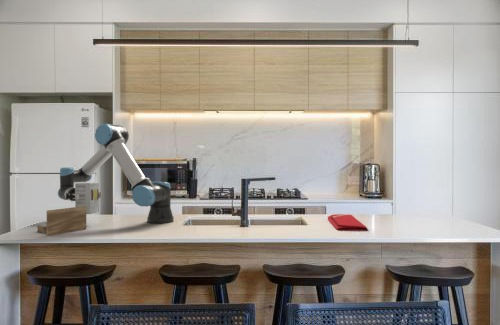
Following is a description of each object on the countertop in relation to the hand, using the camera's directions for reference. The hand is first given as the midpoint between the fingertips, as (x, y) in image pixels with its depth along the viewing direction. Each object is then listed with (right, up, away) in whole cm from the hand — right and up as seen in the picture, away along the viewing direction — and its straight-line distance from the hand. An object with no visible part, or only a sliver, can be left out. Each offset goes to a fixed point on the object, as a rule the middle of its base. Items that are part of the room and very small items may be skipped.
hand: (90, 196), depth 233 cm
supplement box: (-2, -10, +2) cm, 10 cm away
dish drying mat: (+140, -17, +5) cm, 141 cm away
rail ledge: (-10, -16, -16) cm, 25 cm away
